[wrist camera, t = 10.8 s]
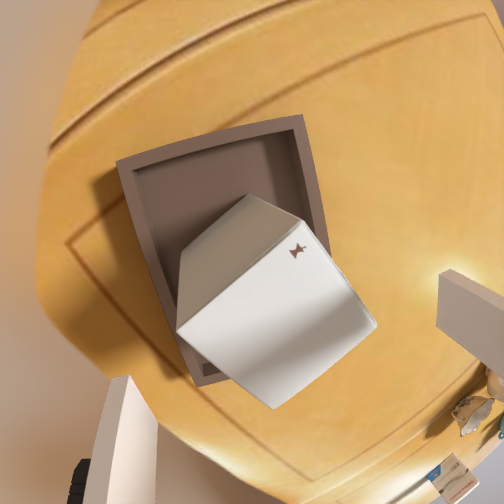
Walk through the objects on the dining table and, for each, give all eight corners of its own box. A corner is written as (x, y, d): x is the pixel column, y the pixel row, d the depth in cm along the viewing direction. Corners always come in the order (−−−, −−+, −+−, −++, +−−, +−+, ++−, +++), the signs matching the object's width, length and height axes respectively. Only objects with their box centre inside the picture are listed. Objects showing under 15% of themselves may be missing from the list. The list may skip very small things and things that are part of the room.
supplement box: (177, 251, 24) (167, 329, 12) (249, 190, 24) (306, 213, 12) (236, 313, 27) (271, 415, 15) (302, 258, 27) (383, 326, 15)
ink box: (430, 478, 51) (452, 507, 39) (425, 475, 49) (449, 506, 38) (456, 455, 50) (480, 483, 39) (453, 451, 49) (479, 481, 37)
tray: (124, 162, 23) (115, 161, 20) (290, 119, 24) (302, 114, 21) (195, 368, 29) (196, 387, 26) (330, 326, 30) (342, 340, 27)
